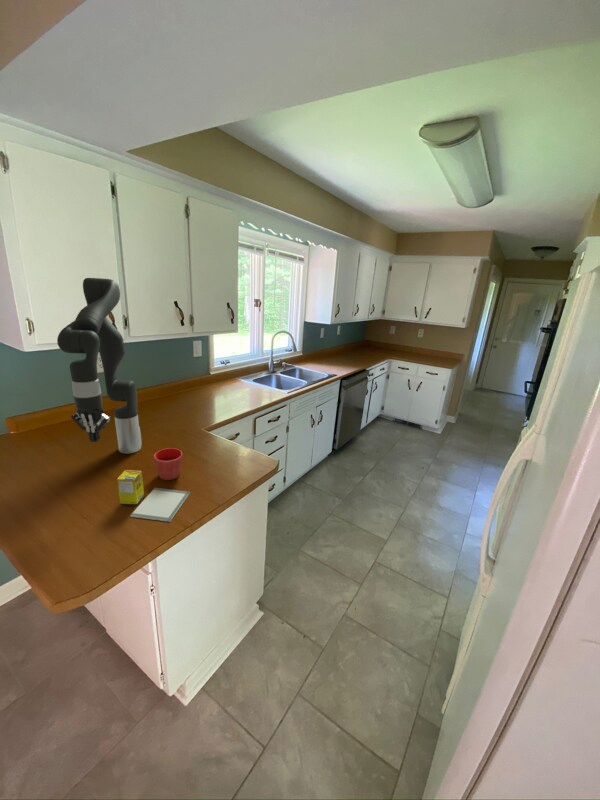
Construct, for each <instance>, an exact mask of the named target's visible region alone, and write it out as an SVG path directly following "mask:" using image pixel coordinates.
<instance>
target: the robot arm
mask: <svg viewBox="0 0 600 800" xmlns="http://www.w3.org/2000/svg"><path fill="white" fill-rule="evenodd" d="M120 290H121V289H120V287H119V284H118V282H117V281H116V280H114V279H110V278H101V277H99V278H98V277H85V278H84V279H83V281H82V291H83V296H84V299H85V302H86V306H84V307H83V308H82V309H80V311H79V312H78V314H77V315H76V316H75V317H76V318H75V319H74V320H73V321H71V322H70V323H69V324H68V325H66V326H65V327H63V328H62V329H61V330H60V331H59V333H58V336H57V340H56V341H57V342H56V343H57V346H58V348H59V349H60V350H61V351H62V352H64V353H67V354H81V355H82V354H85V358H84V359H79V360H78V359H77V360H73V361H71V362H70V364H69V372H70V378H71V389H72V394H73V401H74V406H75V408H76V412H75V413H73V414H71V415H70V418H71V420H73V422H74V423H76V425H77V426H78V427H79V428H80V429H81V430H82V431H84V430H85V431H86V432H87V434H88V439H89V440H90V442H91V443H97V442H98V441H99V440H100V439H101V435H100V432H101V431H103V430H104V429H105V428H106V426H107V425H108V424H109V423H110V421H112V416H110V415H109V416H108V415H106V414H105V411H104V409H103V405H104V404H103V394H102V389H101V388H102V387H101V384H100V380H99V379H100V378H99V375H98V374H99V373H98V366H97V365H98V356H100V360H101V364H102V369H103V375H104V383H105V384H104V385H105V391H106V395H107V398H108V399H109V400H110V401H111V402H125V403H126V404H124V405H122V406H118V407H117V408H115V409H114V411H113V414H114V415H113V416H114V423H115V429H116V430H115V431H116V439H117V445H118V452H119V453H121V454H124V455H125V454H126V455H127V454H128V455H129V454H133V453H137V452H138V451H140V450H141V449H142V446H143V445H142V434H141V427H140V424H139V423H140V422H139V412H138V406H139V405H138V392H137V384H136V382H135V381H133V380H124V379H123V380H120V379H118V378H117V370H118V368H119V366H120V364H121V363H122V361H123V359H124V357H125V356H126V355H125V354H126V348H125V342H124V339H123V335H122V334H121V332H120V331H119V330H118V329H117V327H115V325H113V324H112V322H111V321H110V320H109V319H108V318H107V316H109V314H110V313H111V312H112V311H113V310H114V309H115V307H116V306H117V305H118V303H119V301H120V299H121V291H120Z"/></svg>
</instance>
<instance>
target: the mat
mask: <svg viewBox="0 0 600 800" xmlns="http://www.w3.org/2000/svg"><path fill="white" fill-rule="evenodd" d="M190 494H191V492H190V491H184V490H177V489H167V488H161V487H154V488H153V489H152V490H151V491H150V493H149V494H147V496H146V497H145V498H144V499H143V500H142V501H141V502H140V503H139V504H138V505H137V506H136V507H135V510H134V511H133V512H131V514H130V517H132V518H137V519H138V518H139V519H146V520H152V521H161V522H167V523H171V522H172V520H173V519H174V517H175V516H176V514H177V512H179V510H180V508H182V505H183V504H184V502H185V501H186V500H187V499H188V497H189V495H190Z"/></svg>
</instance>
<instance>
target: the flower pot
mask: <svg viewBox="0 0 600 800" xmlns="http://www.w3.org/2000/svg"><path fill="white" fill-rule="evenodd" d="M153 456H154V457H153V458H154V462H155V463H154V464H155V466H156V470H157V473H158V476H159V478H160V479H162V480H165V481H168V480H174V479H175V478H178V477H179V475H180V473H181V472H180V471H181V468H182V467H181V466H182V460H183V452H182V450H180V449H178V448H175V447H168V448H167V447H166V448H163V449H160V450H158V451H157V452H155V453H154V455H153Z"/></svg>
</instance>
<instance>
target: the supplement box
mask: <svg viewBox="0 0 600 800" xmlns="http://www.w3.org/2000/svg"><path fill="white" fill-rule="evenodd" d="M143 479H144V478H143V473H142V470H135V469H134V470H132V469H125V470H123V472H122V473H121V474H120V475H119V476H118V478H117V479H116V483H117V490H118V496H119V504H120V505H121V506H132V507H133V506H136V507H138V506H139V505H140V503H141V502H142V501H143V498H144V497H145V491H144V490H145V489H144V480H143Z"/></svg>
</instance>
